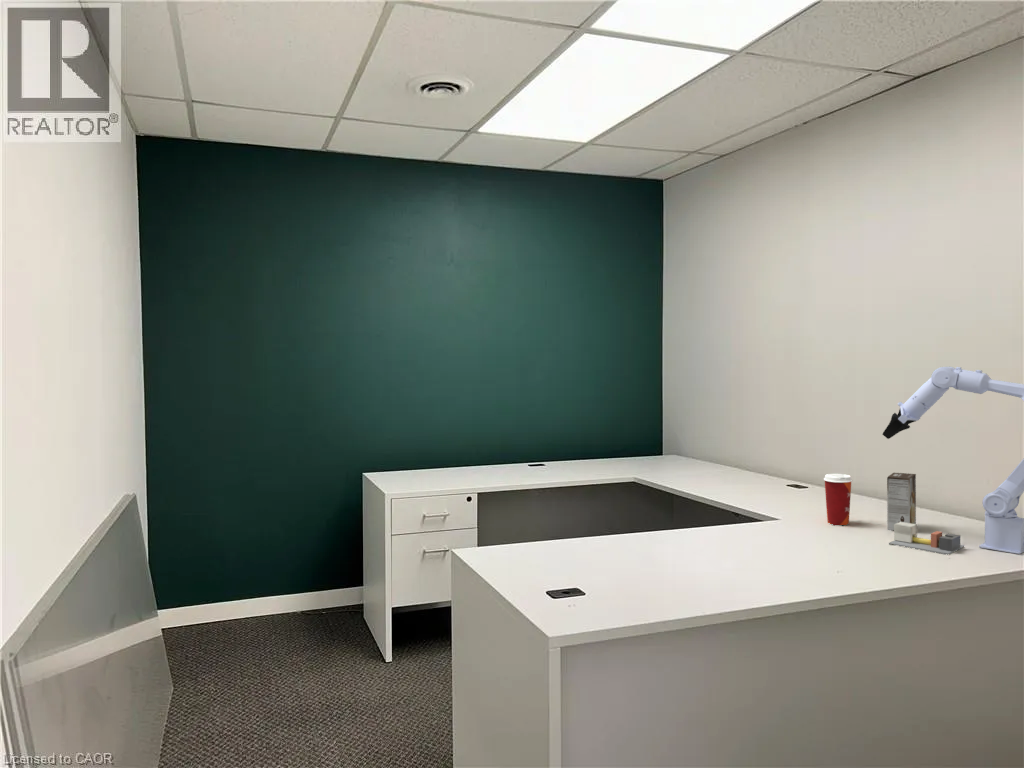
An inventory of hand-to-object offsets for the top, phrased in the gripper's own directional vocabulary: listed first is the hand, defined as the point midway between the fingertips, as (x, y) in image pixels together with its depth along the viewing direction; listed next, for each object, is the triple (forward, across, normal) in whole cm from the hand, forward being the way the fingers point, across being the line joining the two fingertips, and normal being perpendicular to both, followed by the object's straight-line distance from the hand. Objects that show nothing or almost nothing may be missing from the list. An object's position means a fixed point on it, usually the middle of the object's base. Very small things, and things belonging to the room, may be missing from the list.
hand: (888, 433), depth 218 cm
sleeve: (+16, +15, +23) cm, 32 cm away
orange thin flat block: (+10, +16, +29) cm, 35 cm away
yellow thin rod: (+13, +15, +26) cm, 33 cm away
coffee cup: (+31, +3, +8) cm, 33 cm away
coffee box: (+20, -1, +21) cm, 30 cm away
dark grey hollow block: (+8, +17, +31) cm, 36 cm away
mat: (+12, +16, +27) cm, 34 cm away
